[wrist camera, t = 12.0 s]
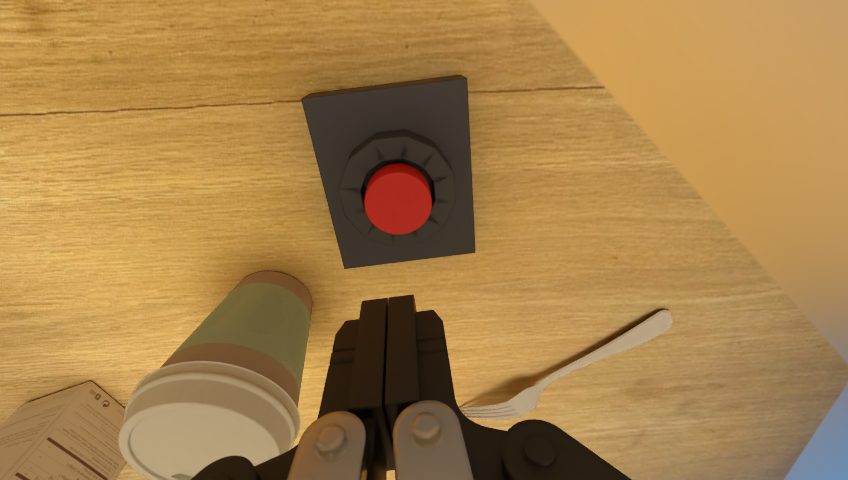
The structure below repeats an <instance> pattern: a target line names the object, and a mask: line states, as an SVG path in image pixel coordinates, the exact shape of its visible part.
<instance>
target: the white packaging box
mask: <svg viewBox="0 0 848 480" xmlns="http://www.w3.org/2000/svg"><path fill="white" fill-rule="evenodd" d="M124 414H125V409H124V408H123V407H122V406H121V405H120V404H119V403H118V402H116V401H115V400H114V399H113V398H112V397H110V396H109V395H108V394H107V393H106V392H104V391H103V390H102V389H101V388H100V387H98V386H97V385H96V384H94V383H93V382H91V381H89V382H86V383H83V384H80V385H77V386H75V387H72V388H69V389H66V390H63V391H60V392H57V393H54V394H52V395H49V396H46V397H43V398H40V399H37V400H34V401H31V402H29V403H26V404H23V405H22V406H21V407H20V408H19V409H18V410H17V411H16V412H15V413H14V414H13V415H12V416H11V417H10V418H9V419H8V420H7V421H5V422H4V423H3V424H2V425H1V426H0V480H116V478H117V477H118V475H119V474H120V472H121V470H122V469H123V467H124V466H125V464H126V463H127V461H126V460H125V459H124V457H123V455H122V453H121V451H120V448H119V444H118V436H119V432H120V429H121V427H122V424H123V421H124V419H125V415H124Z"/></svg>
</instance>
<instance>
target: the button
mask: <svg viewBox="0 0 848 480" xmlns="http://www.w3.org/2000/svg"><path fill="white" fill-rule="evenodd" d="M364 205H365V211H366V214H367V216H368V218H369V219H370V221H371V222H372V223H373V224H374V225H375V226H376V227H377V228H379V229H380V230H382V231H384V232H387V233H390V234H407V233H410V232H413V231H415V230H416V229H418V228H419V227H421V226H422V225H423V224H424V223H425V222H426V220H427V219H428V217H429V215H430V212H431V208H432V199H431V194H430V189H429V185H428V182H427V180H426V178H425V177H424V175H423V174H422V173H421V172H420V171H419V170H418V169H416V168H415V167H413V166H411V165H408V164H403V163H393V164H388V165H385V166H383V167H381V168H380V169H378V170H377V171H376V172H375V173H374V174H373V175H372V177H371V178H370V180H369V183H368V186H367V190H366V195H365V200H364Z"/></svg>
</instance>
